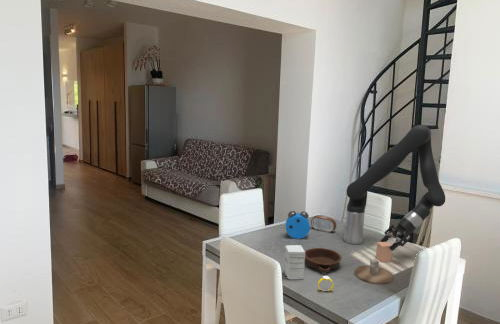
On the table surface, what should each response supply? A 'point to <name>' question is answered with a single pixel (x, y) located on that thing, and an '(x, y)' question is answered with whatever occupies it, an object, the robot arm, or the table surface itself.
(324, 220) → the copper desk clock
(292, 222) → the alarm clock
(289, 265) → the supplement box
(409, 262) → the table surface
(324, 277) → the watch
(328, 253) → the dish
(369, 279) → the post stand
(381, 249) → the salmon pink block
